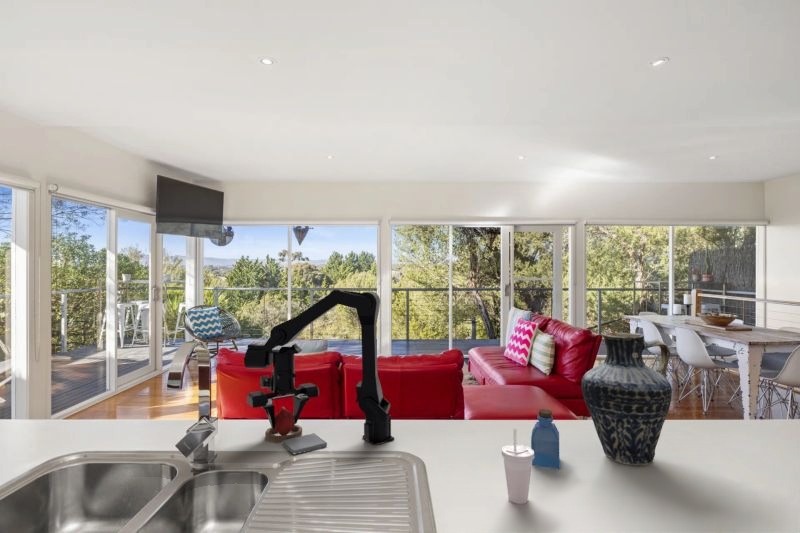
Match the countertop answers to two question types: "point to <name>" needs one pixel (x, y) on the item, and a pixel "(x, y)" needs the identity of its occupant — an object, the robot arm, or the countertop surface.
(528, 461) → the smoothie
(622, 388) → the jug
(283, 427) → the onion
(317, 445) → the slate tile
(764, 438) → the countertop surface
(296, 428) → the ring
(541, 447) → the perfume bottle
